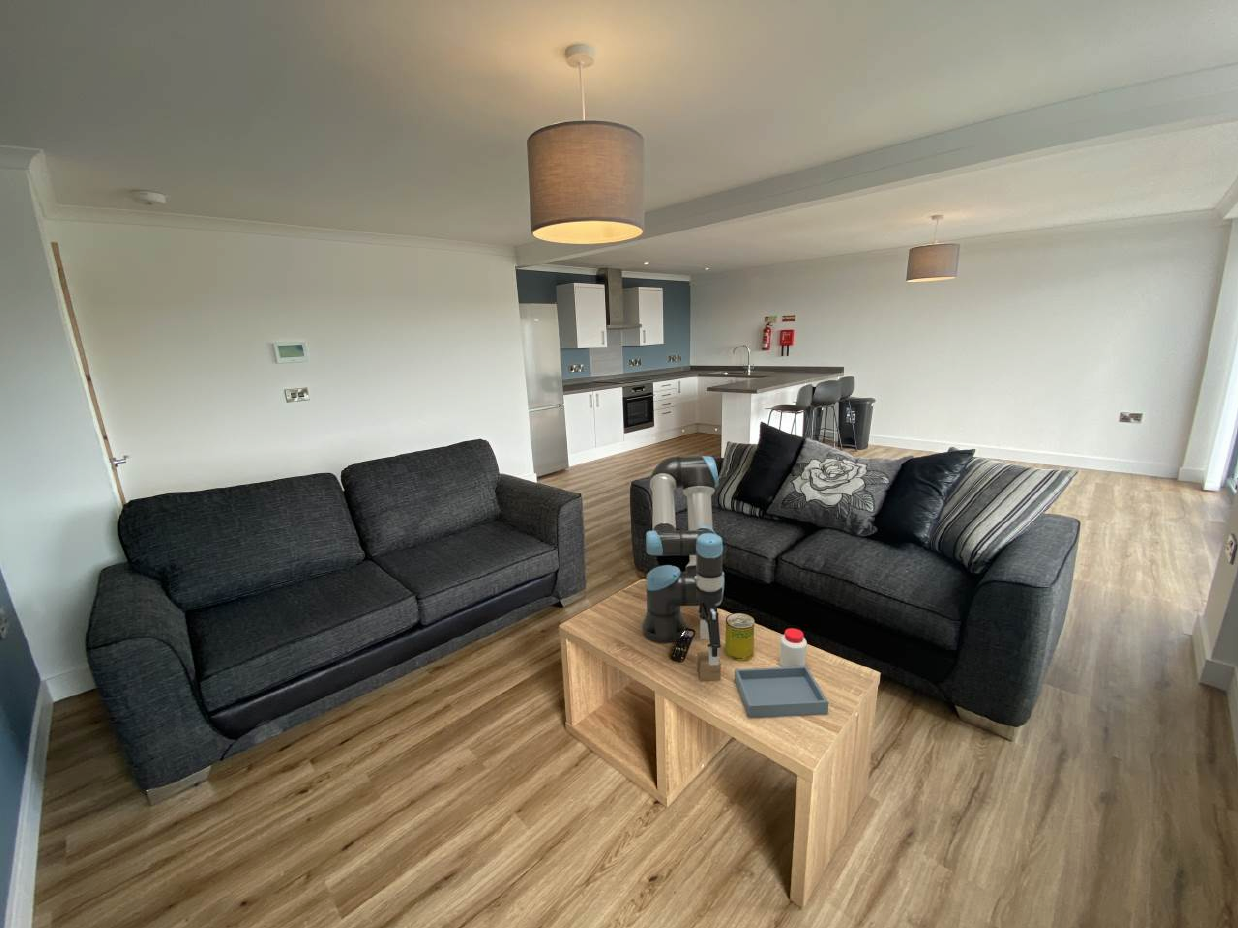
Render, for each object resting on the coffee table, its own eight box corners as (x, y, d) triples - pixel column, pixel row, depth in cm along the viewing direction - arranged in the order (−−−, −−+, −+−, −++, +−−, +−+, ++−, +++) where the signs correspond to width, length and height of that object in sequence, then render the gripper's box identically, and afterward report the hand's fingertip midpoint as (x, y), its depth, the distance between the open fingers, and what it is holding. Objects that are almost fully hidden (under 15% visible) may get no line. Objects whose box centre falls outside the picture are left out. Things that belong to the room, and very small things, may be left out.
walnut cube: (697, 669, 159) (697, 652, 158) (716, 668, 159) (716, 651, 158) (700, 681, 153) (700, 664, 152) (720, 680, 154) (720, 663, 152)
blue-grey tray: (734, 680, 153) (734, 669, 152) (805, 676, 154) (806, 665, 153) (748, 717, 138) (749, 705, 137) (827, 713, 139) (828, 701, 138)
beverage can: (759, 657, 164) (760, 623, 161) (735, 664, 161) (736, 630, 158) (742, 642, 172) (743, 610, 169) (719, 649, 169) (720, 617, 166)
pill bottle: (776, 656, 164) (778, 626, 161) (801, 656, 163) (802, 626, 161) (783, 672, 156) (784, 640, 153) (809, 671, 156) (810, 640, 153)
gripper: (689, 568, 161) (690, 628, 166) (704, 608, 137) (704, 677, 142) (713, 567, 161) (712, 627, 166) (732, 607, 137) (731, 676, 142)
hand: (709, 650), depth 154 cm, fingers open, 13 cm apart
